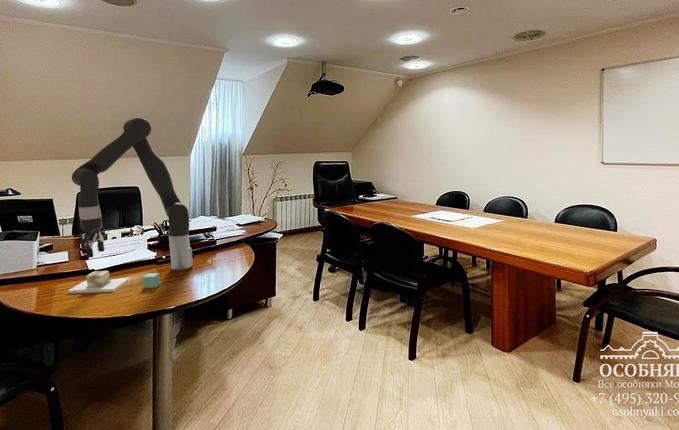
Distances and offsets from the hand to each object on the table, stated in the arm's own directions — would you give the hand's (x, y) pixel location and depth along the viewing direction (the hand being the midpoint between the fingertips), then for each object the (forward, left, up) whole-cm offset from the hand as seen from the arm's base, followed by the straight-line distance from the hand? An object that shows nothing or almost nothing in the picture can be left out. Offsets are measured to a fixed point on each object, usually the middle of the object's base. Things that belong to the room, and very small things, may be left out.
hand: (96, 254), depth 154 cm
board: (0, 0, -15) cm, 15 cm away
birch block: (0, 0, -14) cm, 14 cm away
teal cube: (-14, +17, -15) cm, 26 cm away
